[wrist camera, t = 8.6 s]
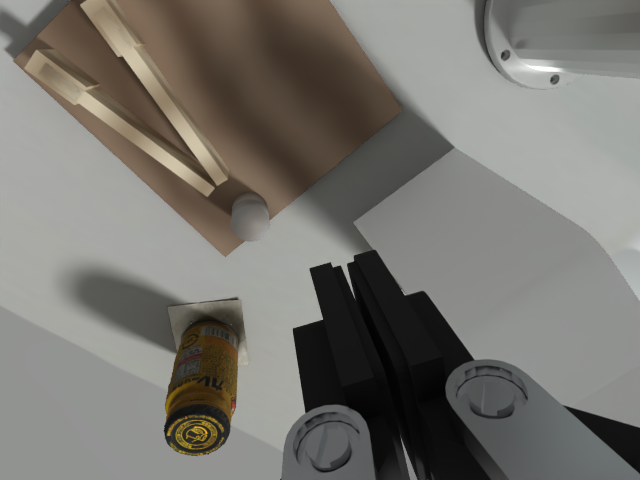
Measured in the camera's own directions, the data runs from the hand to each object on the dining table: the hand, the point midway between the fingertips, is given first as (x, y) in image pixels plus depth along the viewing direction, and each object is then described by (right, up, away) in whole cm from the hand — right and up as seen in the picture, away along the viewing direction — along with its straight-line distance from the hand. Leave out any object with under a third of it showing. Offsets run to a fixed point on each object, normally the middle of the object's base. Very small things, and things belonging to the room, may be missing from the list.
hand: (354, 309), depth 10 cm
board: (-9, +14, +24) cm, 30 cm away
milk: (+11, +3, +33) cm, 35 cm away
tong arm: (-13, +13, +23) cm, 29 cm away
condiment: (-12, -8, +34) cm, 38 cm away
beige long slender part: (-13, +9, +25) cm, 30 cm away
